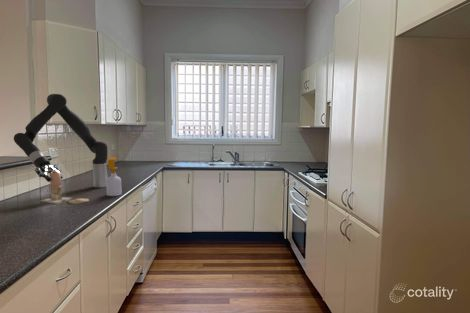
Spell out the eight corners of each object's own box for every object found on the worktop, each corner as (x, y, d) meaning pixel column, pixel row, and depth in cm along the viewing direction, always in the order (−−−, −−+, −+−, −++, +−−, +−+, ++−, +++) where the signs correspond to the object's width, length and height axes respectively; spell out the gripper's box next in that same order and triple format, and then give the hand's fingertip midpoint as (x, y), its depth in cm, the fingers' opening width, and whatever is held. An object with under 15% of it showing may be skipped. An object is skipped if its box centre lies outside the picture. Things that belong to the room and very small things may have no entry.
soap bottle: (124, 193, 203) (122, 156, 200) (117, 196, 194) (116, 158, 191) (111, 193, 204) (109, 156, 201) (104, 196, 195) (102, 158, 192)
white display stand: (56, 197, 189) (55, 185, 189) (72, 199, 187) (72, 186, 186) (39, 202, 178) (39, 189, 177) (56, 203, 175) (56, 190, 174)
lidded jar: (55, 186, 185) (55, 170, 184) (64, 186, 184) (63, 170, 183) (47, 188, 179) (46, 171, 178) (56, 189, 178) (55, 172, 176)
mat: (77, 198, 187) (77, 197, 187) (93, 199, 185) (93, 199, 185) (63, 203, 177) (63, 202, 177) (79, 204, 174) (79, 203, 174)
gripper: (32, 156, 175) (49, 177, 173) (52, 154, 188) (68, 173, 187) (25, 165, 176) (42, 186, 175) (46, 162, 190) (62, 181, 189)
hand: (56, 179), depth 181 cm, fingers open, 8 cm apart
